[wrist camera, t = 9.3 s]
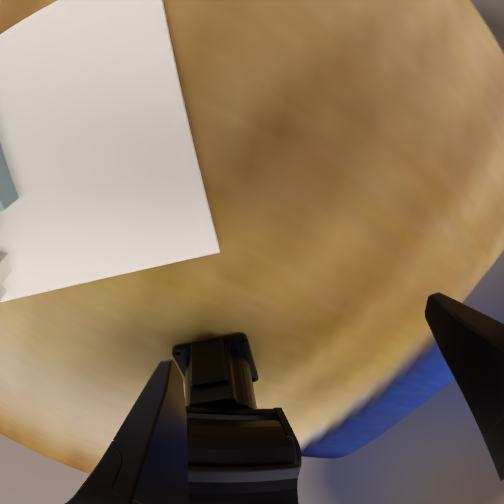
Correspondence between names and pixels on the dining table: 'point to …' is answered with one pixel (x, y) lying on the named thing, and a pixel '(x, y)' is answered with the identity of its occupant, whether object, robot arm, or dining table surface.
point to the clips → (4, 272)
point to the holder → (6, 184)
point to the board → (96, 147)
